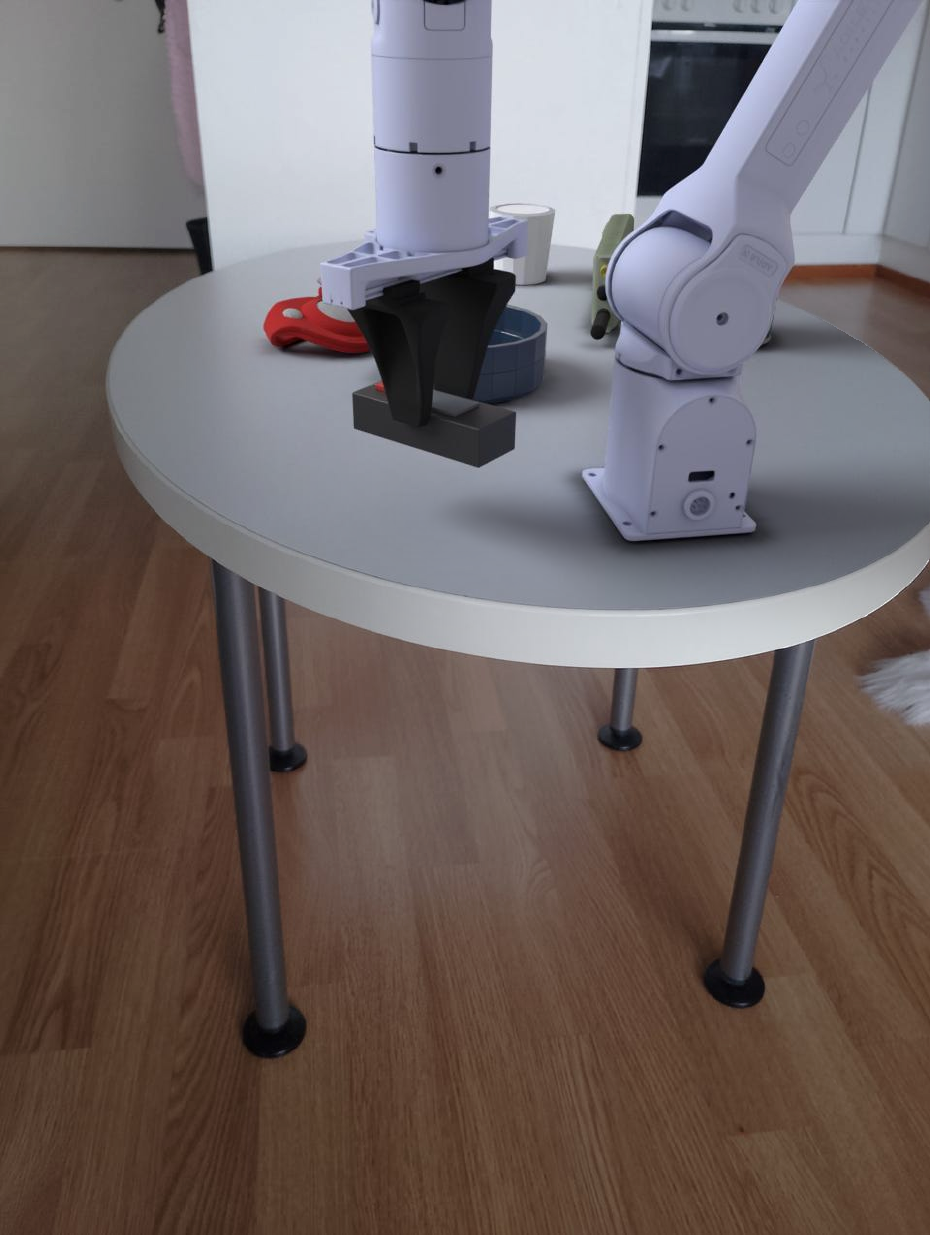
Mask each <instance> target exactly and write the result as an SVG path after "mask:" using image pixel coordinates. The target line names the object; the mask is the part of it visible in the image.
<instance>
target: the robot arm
mask: <svg viewBox="0 0 930 1235" xmlns="http://www.w3.org/2000/svg"><path fill="white" fill-rule="evenodd" d="M492 1H493V0H370V6H371V7H370V8H371V9H370V10H371V15H372V20H373V21H372V22H373V23H372V24H373V34H372V37H371V39H370V63H371V64H370V66H371V68H370V70H371V98H372V100H371V101H372V102H371V103H372V131H373V132H372V134H373V135H372V136H373V137H372V138H373V160H374V162H373V163H374V165H373V166H374V188H375V189H374V190H375V194H374V195H375V217H376V218H375V221H376V222H375V223H376V225H375V226H376V227H375V228H373V229H368V230H366V231H364V242H363V243H361V244H360V245H358V246H356V247H354V248H353V249H350V250H349V251H347V252H345V253H343V254H341V255H339V256H337V257H334V258H332V259H328V260H325V261H322V262H320V265H319V266H320V278H321V283H322V300H323V303H324V304H329V305H333V306H337V307H341V308H345V309H347V310H348V311H349V313H350V314H351V316H352V317H353V319H354V320H355V322H356V324H357V325H358V327H359V329H360V330H361V332H362V334H363V336H364V338H365V340H366V342H367V344H368V346H369V348H370V353H371V355H372V356H373V359H374V362H375V364H376V368H377V371H378V373H379V376H380V379H381V381H382V383H383V386H384V389H385V393H386V396H387V400H388V404H389V407H390V411H391V414H392V418H393V420H396V421H399V422H403V423H406V424H409V425H413V426H416V427H422V426H425V425H427V424H428V421H429V417H430V415H431V410H432V401H433V386H434V387H435V390H438V391H442V392H446V393H449V394H453V395H456V396H460V397H464V398H467V399H471V400H473V398H474V394H475V391H476V387H477V383H478V379H479V376H480V372H481V368H482V364H483V361H484V358H485V354H486V351H487V348H488V345H489V342H490V339H491V337H492V334H493V332H494V329H495V327H496V325H497V323H498V320H499V318H500V316H501V314H502V312H503V311H504V309H505V307H506V305H509V302H510V301H511V299H512V297H513V296H514V294H515V293H516V288H517V287H516V286H517V284H516V275H515V274H514V273H511V272H507V271H502V270H497V269H494V261H496V260H499V259H502V258H505V257H508V258H512V259H518V258H521V257H524V256H526V253H527V229H528V221H527V220H521V219H514V218H508V217H502V216H498V217H493V218H490V212H489V210H490V184H491V182H490V180H491V178H490V176H491V134H492V133H491V132H492V96H493V94H492V93H493V92H492V91H493V55H494V54H493V52H494V51H493V48H494V47H493V46H494V45H493V43H494V42H493V39H492V9H493V8H492V6H493V2H492ZM923 2H924V0H797V2H796V3H795V4H794V6H793V9H792V10H791V12H790V14H789V15H788V17H787V19H786V21H785V22H784V24H783V25H782V28H780V31H779V33H778V34H777V36H776V38H775V39H774V41H773V43H772V44H771V47H770V48H769V50H768V52H767V53H766V55H765V57H764V59H763V61H762V63H760V65H759V67H758V69H757V71H756V73H755V74H754V76H753V78H752V79H751V81H750V82H749V84H748V87H747V88H746V90H745V92H744V93H743V95H742V97H741V98H740V100H739V102H738V103H737V106H736V107H735V109H734V110H733V112H732V113H731V116H730V118H729V119H728V121H727V123H726V124H725V126H724V128H723V130H722V131H721V133H720V135H719V137H718V138H717V140H716V141H715V143H714V145H713V147H712V148H711V150H710V152H709V153H708V155H707V157H706V159H705V161H704V162H703V164H702V165H701V166H700V167H699V168H698V169H697V170H695V171H694V172H692V173H691V174H690V175H688V176H687V177H685V178H684V179H681V181H679V182H678V183H676V184H675V185H674V186H672V187H671V188H670V189H668V190H667V191H666V192H665V193H664V194H663V196H662V198H661V199H660V201H659V202H658V205H657V206H656V208H655V209H654V211H653V212H652V214H651V215H650V216H649V217H648V219H646V220H645V221H644V222H643V223H642V224H641V225H640V226H638V227H637V228H636V229H635V228H634V231H633V232H631V233H630V234H629V235H627V236H626V237H625V238H624V239H623V240H622V241H621V243H620V244H619V245H618V247H617V248H616V249H615V251H614V253H613V255H612V257H611V259H610V262H609V264H608V268H607V272H606V279H605V288H606V295H607V299H608V302H609V305H610V307H611V309H612V311H613V312H614V313H615V315H616V316H617V317H618V318H619V321H620V330H619V336H618V338H617V340H616V343H615V347H614V348H615V349H614V360H613V372H612V381H611V393H610V403H609V404H610V405H609V413H608V424H607V437H606V447H605V456H604V457H605V458H604V467H596V468H593V467H592V468H585V469H583V470H582V474H581V477H582V479H583V480H584V482H585V483H586V485H587V486H588V488H589V489H590V490H591V492H592V493H593V495H594V496H595V498H596V499H597V501H598V503H600V505H601V506H602V508H603V510H604V511H605V512H606V514H607V515H608V518H610V519H611V521H612V523H613V524H614V525H615V527H616V528H617V530H618V531H619V533H620V534H621V536H622V537H623V538H624V539H625V541H630V542H640V541H653V540H669V539H681V538H694V537H707V536H721V535H736V534H747V533H749V534H750V533H754V532H755V531H756V528H757V523H756V522H755V521H754V520H753V519H752V518H751V517H750V516H749V514H747V512H746V510H745V508H746V503H747V496H748V491H749V485H750V480H751V475H752V474H751V473H752V468H753V461H754V456H755V451H756V445H757V436H758V434H757V433H758V432H757V426H756V420H755V418H754V416H753V413H752V412H751V410H750V408H749V407H748V405H747V404H746V403H745V401H744V398H743V396H742V394H741V393H742V392H741V385H740V378H741V376H742V375H743V374H742V373H743V368H744V363H745V362H747V361H748V360H749V359H750V358H751V357H752V356H753V355H754V354H755V353H756V352H757V351H758V349H759V348H760V347H761V346H762V345H761V344H762V342H763V341H764V339H765V338H766V335H767V333H768V331H769V329H770V326H771V323H772V320H773V321H774V319H773V315H774V316H775V311H774V309H775V310H776V305H775V304H777V301H776V298H777V299H778V295H779V293H780V290H781V287H782V285H783V284H784V281H785V280H786V278H787V276H788V275H789V273H790V272H791V270H792V268H793V267H794V265H795V264H796V263H795V262H796V254H795V247H794V246H795V245H794V238H793V232H792V224H791V216H792V213H793V211H794V209H795V208H796V206H797V205H798V203H799V202H800V199H801V198H802V197H803V195H804V193H805V192H806V190H807V188H808V187H809V185H810V184H811V182H812V181H813V179H814V177H815V176H816V174H817V173H818V171H819V170H820V168H821V166H822V164H823V163H824V161H825V159H826V158H827V156H828V155H829V153H830V151H831V150H832V148H833V147H834V145H835V143H836V142H837V140H838V139H839V137H840V136H841V134H842V133H843V131H844V129H845V128H846V126H847V124H848V123H849V121H850V119H851V118H852V116H853V115H854V113H855V112H856V110H857V108H858V106H859V105H860V104H861V102H862V100H863V98H864V97H865V95H866V93H867V92H868V90H869V89H870V87H871V86H872V84H873V82H874V81H875V79H876V77H877V76H878V75H879V73H880V71H881V70H882V68H883V66H884V65H885V62H886V61H887V59H888V58H889V57H890V55H891V53H892V52H893V50H894V48H895V47H896V45H897V43H898V42H899V40H900V39H901V38H902V36H903V34H904V32H905V31H906V29H907V27H908V26H909V24H910V23H911V21H912V19H913V18H914V16H915V14H916V13H917V12H918V10H919V8H920V6H921V5H922V3H923ZM772 324H773V323H772Z"/></svg>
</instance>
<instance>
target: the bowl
mask: <svg viewBox="0 0 930 1235" xmlns="http://www.w3.org/2000/svg"><path fill="white" fill-rule="evenodd" d="M548 325H549V324H548V322H547V321H546V320H545V319H544V318H543V317H542V315H540V314H538V313H535V312H533V311H531V310H529V309H526V308H523V307H519V306H515V305H511V304H507V305H506V307H505V309H504V311H503V312H502V314H501V316H500V318H499V320H498V323H497V325H496V327H495V329H494V332H493V334H492V337H491V339H490V342H489V345H488V348H487V351H486V354H485V358H484V361H483V364H482V368H481V372H480V376H479V379H478V383H477V387H476V391H475V394H474V398H473V400H475V401H478V402H482V403H486V404H489V405H492V404H497V403H503V402H508V401H511V400H516V399H518V398H521V397H523V396H525V395H527V394H529V393H531V392H532V391H533V390H534V389H535V388H537V387H538V386H539V385H540V384H542V383H543V382H544V379H545V374H546V358H547V357H546V356H547V341H548ZM433 389H435V387H434V386H433Z"/></svg>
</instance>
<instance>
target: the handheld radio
mask: <svg viewBox="0 0 930 1235" xmlns="http://www.w3.org/2000/svg"><path fill="white" fill-rule="evenodd" d="M634 230H635V217H634V216H633V215H632V214H631V213H615V214H612V215H611V216H610V217H609V220H608V221H607V222H606V223H605V226H604V227H603V231H602V232H601V238H600V241H599V243H598V246H597V249H596V251H595V252H594V255H593V260H592V261H593V262H592V263H593V265H592V266H593V267H592V284H591V285H592V289H591V290H592V291H591V312H590V313H591V316H590V324H591V329H590V332H589V333H590V336H591V338H592V339H594V340H595V341H596V340H597V341H599V340H602V339H603V338H605V335H606V334H610V333H611V332H612V330H614V329H615V328H616V327H617V326H618V324H619V321H620V319H619V318H618V317H617V316H616V315H615V313H614V312H613V311H612V309H611V307H610V305H609V302H608V299H607V295H606V288H605V279H606V272H607V268H608V264H609V262H610V259H611V257H612V255H613V253H614V251H615V249H616V248H617V247H618V245H619V244H620V243H621V241H622V240H623V239H624V238H625V237H626V236H627V235H629V234H630V233H631V232H633V231H634Z"/></svg>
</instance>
